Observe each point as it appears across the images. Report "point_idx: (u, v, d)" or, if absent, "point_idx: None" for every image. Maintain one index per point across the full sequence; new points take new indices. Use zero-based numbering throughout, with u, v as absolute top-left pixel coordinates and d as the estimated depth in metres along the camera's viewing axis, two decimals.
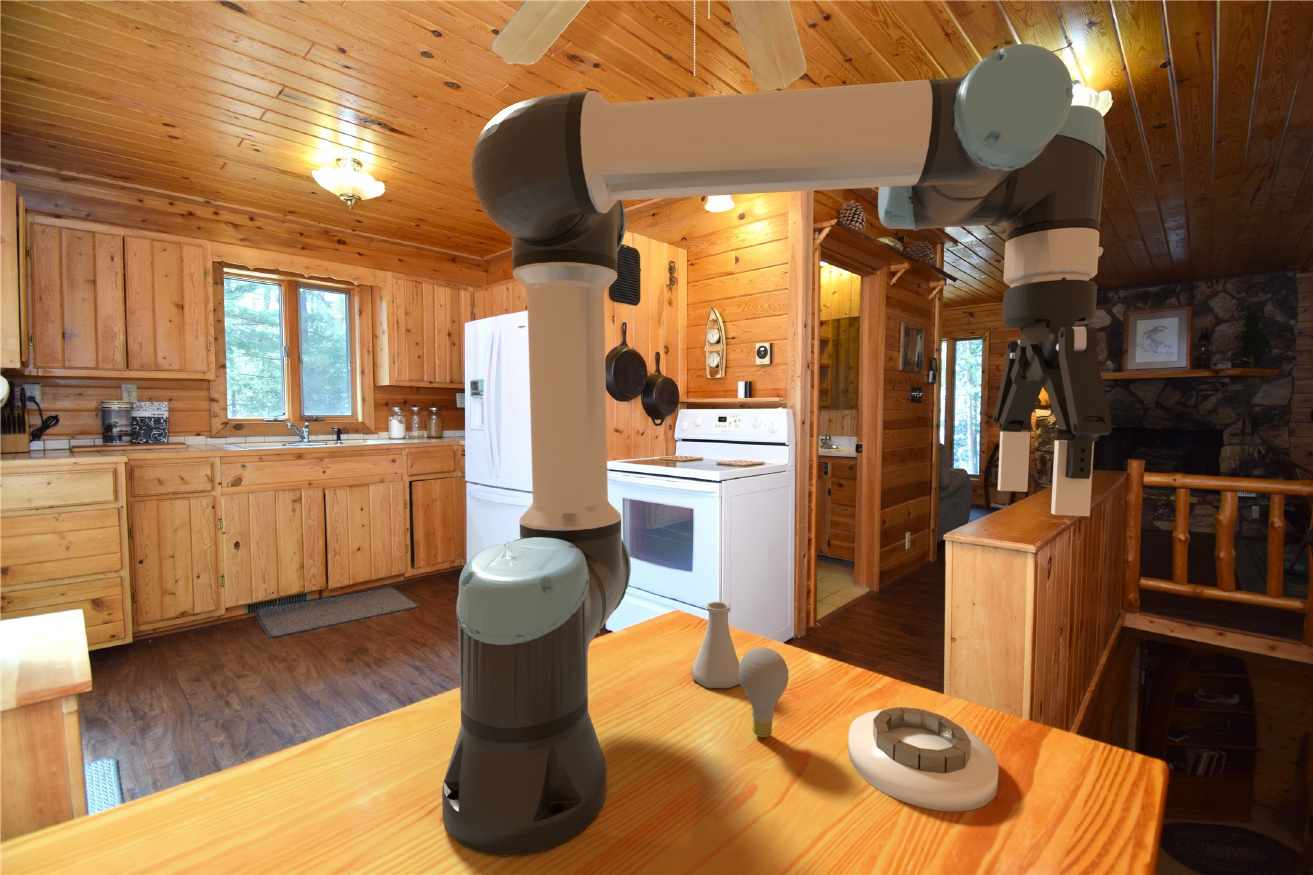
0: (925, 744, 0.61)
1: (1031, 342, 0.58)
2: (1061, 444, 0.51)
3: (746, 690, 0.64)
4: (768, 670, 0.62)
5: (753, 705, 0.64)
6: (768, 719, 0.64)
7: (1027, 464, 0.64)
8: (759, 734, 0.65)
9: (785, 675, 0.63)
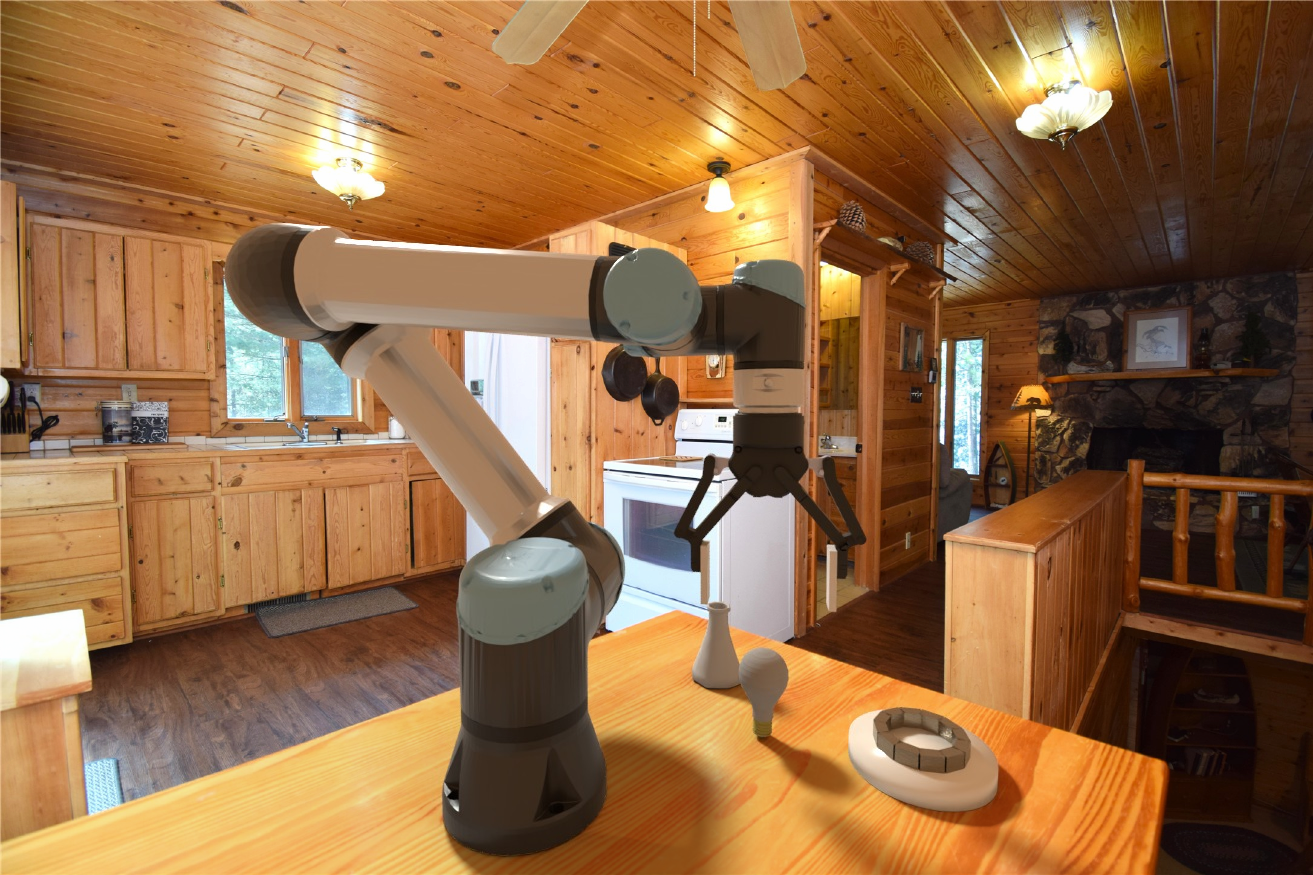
0: (925, 744, 0.61)
1: None
2: None
3: (746, 690, 0.64)
4: (768, 670, 0.62)
5: (753, 705, 0.64)
6: (768, 719, 0.64)
7: (829, 583, 0.62)
8: (759, 734, 0.65)
9: (785, 675, 0.63)
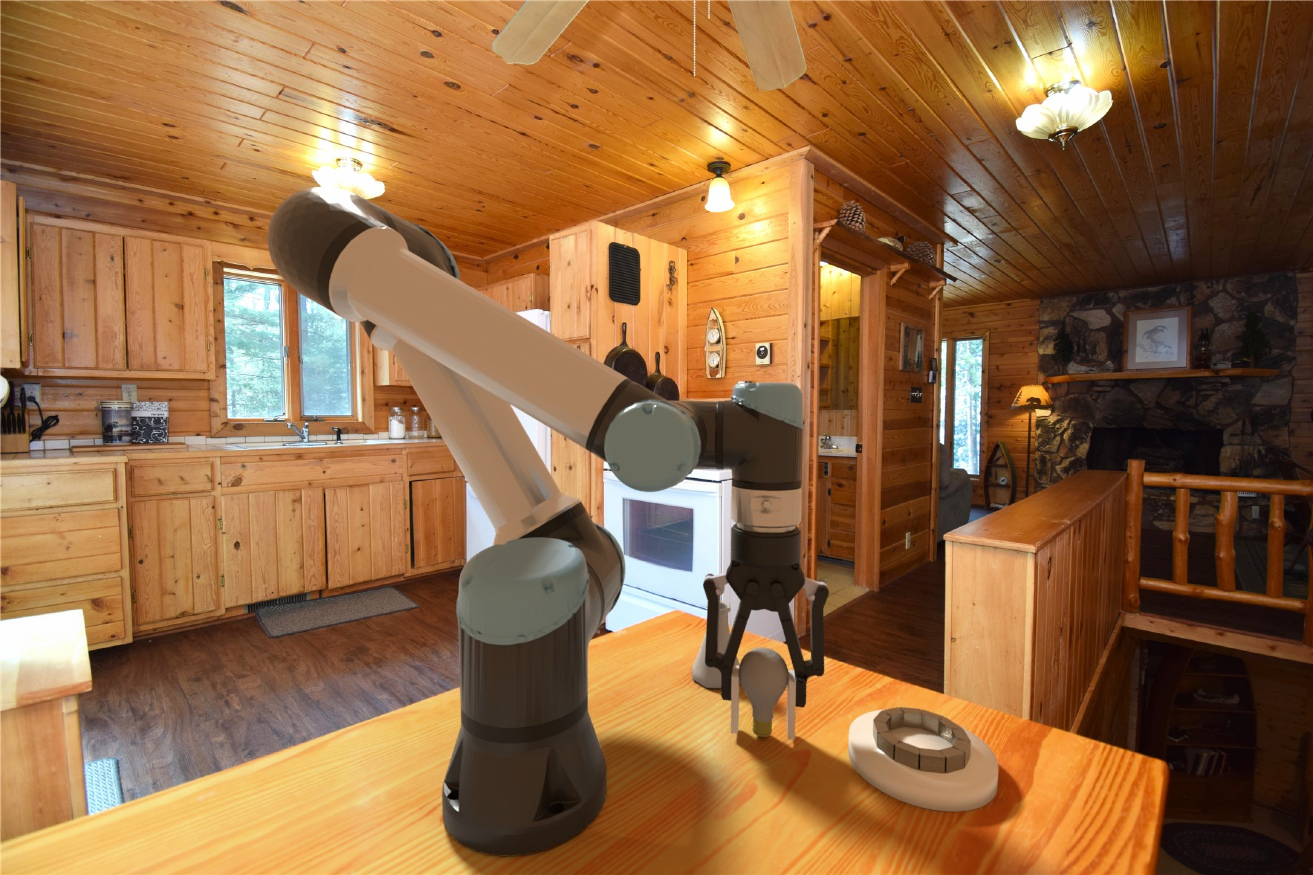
0: (925, 744, 0.61)
1: None
2: (732, 668, 0.67)
3: (746, 690, 0.64)
4: (768, 670, 0.62)
5: (753, 705, 0.64)
6: (768, 719, 0.64)
7: (788, 712, 0.63)
8: (759, 734, 0.65)
9: (785, 675, 0.63)
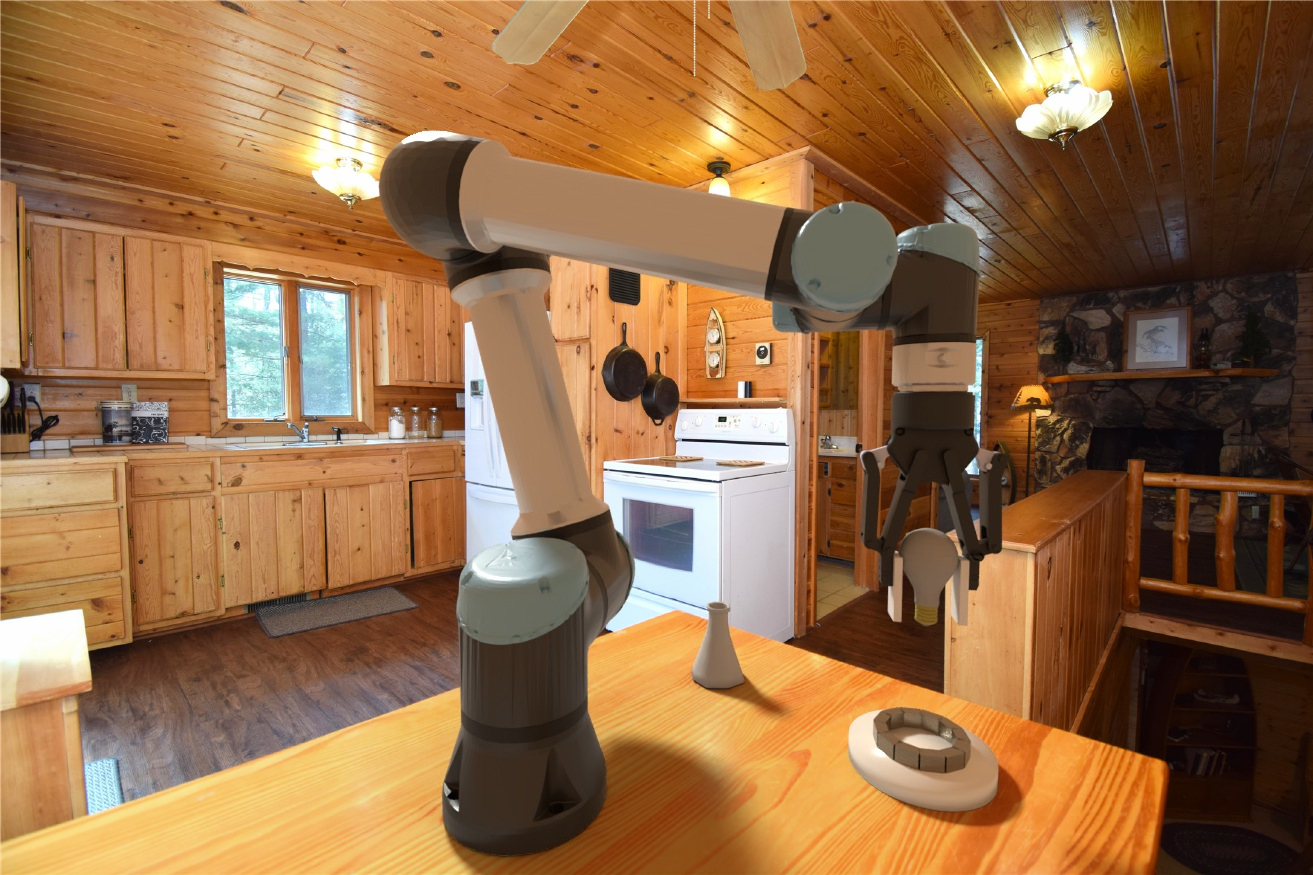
0: (925, 744, 0.61)
1: None
2: None
3: (912, 571, 0.58)
4: (940, 546, 0.57)
5: (918, 589, 0.59)
6: (935, 604, 0.58)
7: (959, 595, 0.58)
8: (925, 621, 0.59)
9: (956, 553, 0.57)
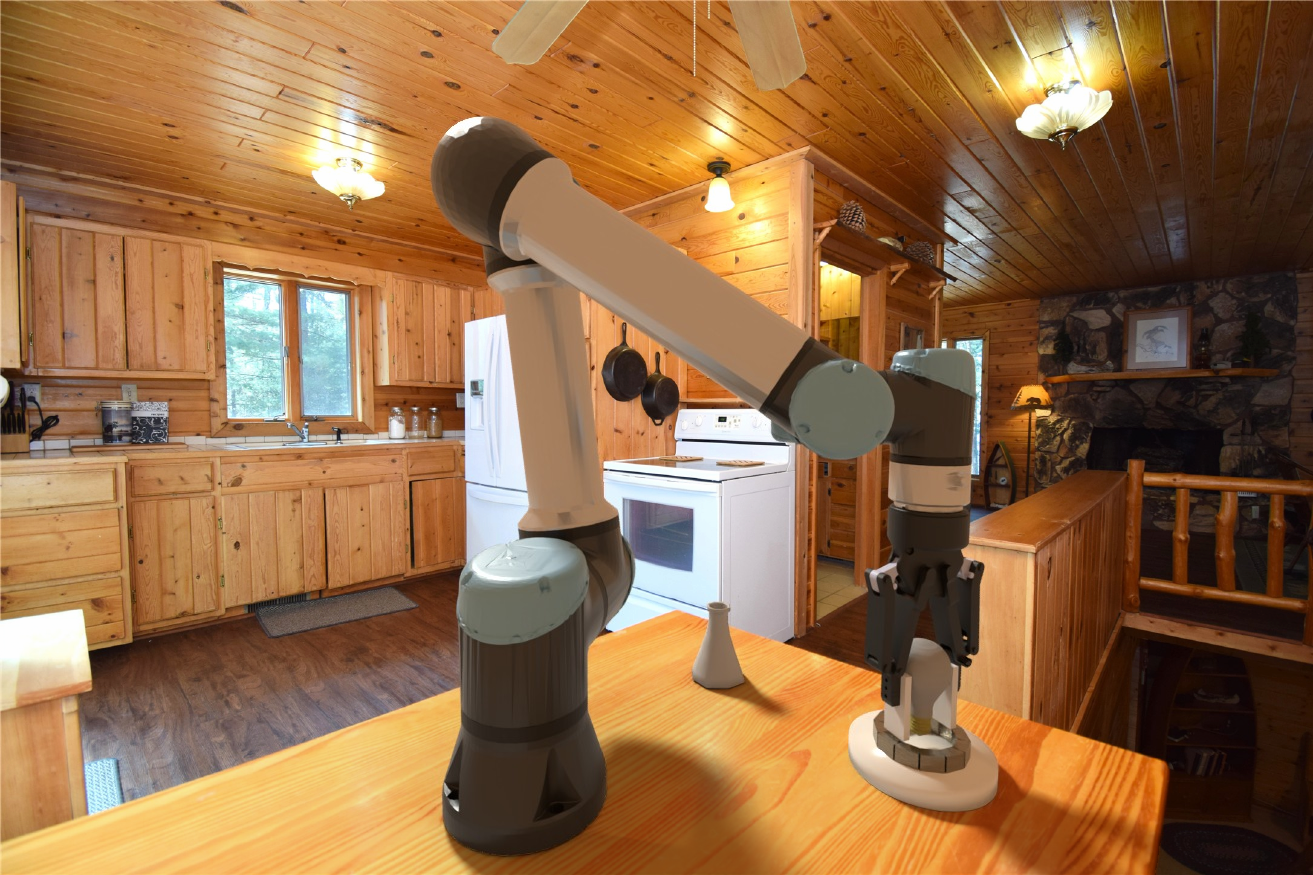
0: (925, 744, 0.61)
1: None
2: None
3: (920, 688, 0.58)
4: (944, 660, 0.58)
5: (919, 703, 0.59)
6: (932, 714, 0.60)
7: (950, 700, 0.60)
8: (924, 733, 0.59)
9: None
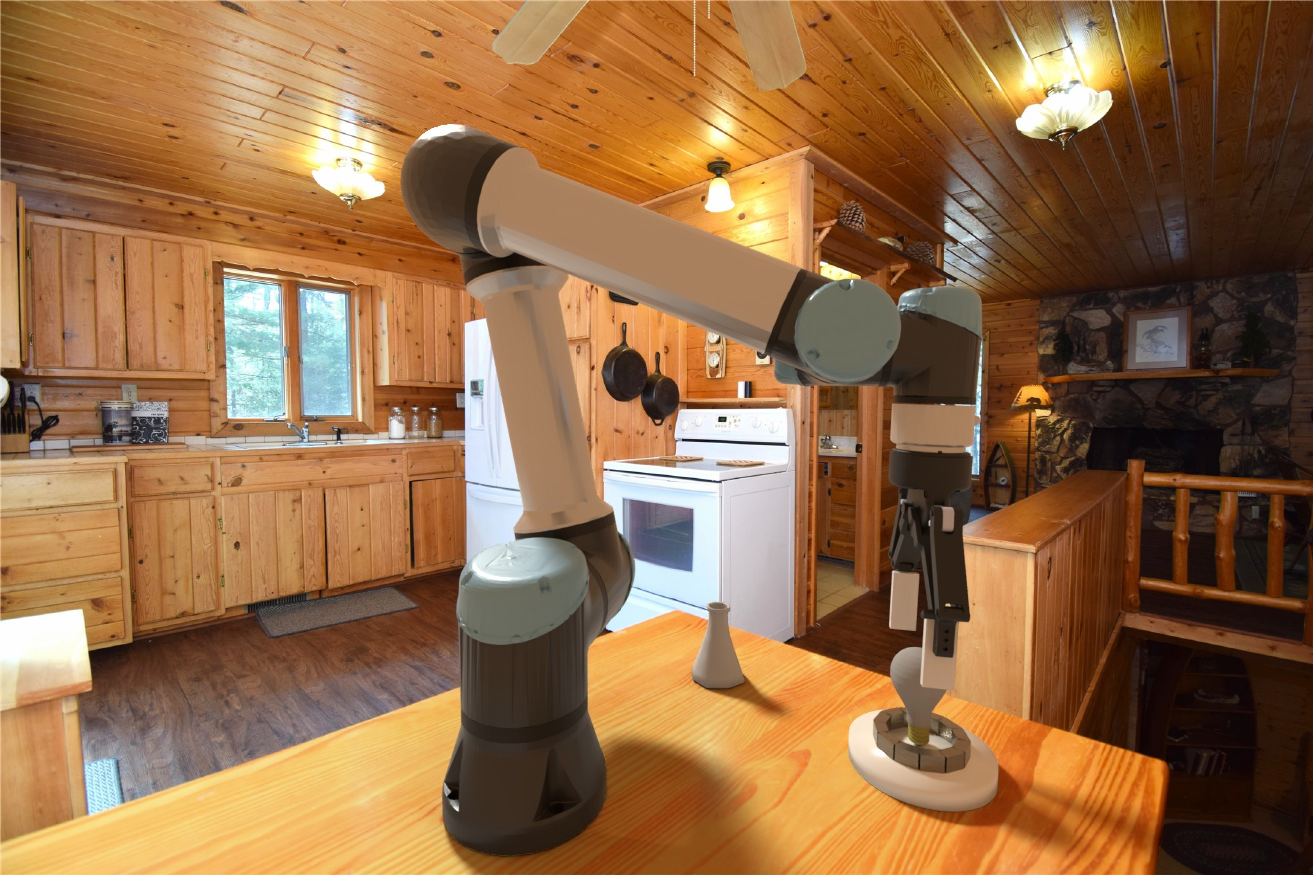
0: (925, 744, 0.61)
1: (914, 501, 0.59)
2: (929, 620, 0.53)
3: (941, 696, 0.58)
4: None
5: (930, 712, 0.59)
6: None
7: (916, 605, 0.66)
8: (928, 739, 0.60)
9: None
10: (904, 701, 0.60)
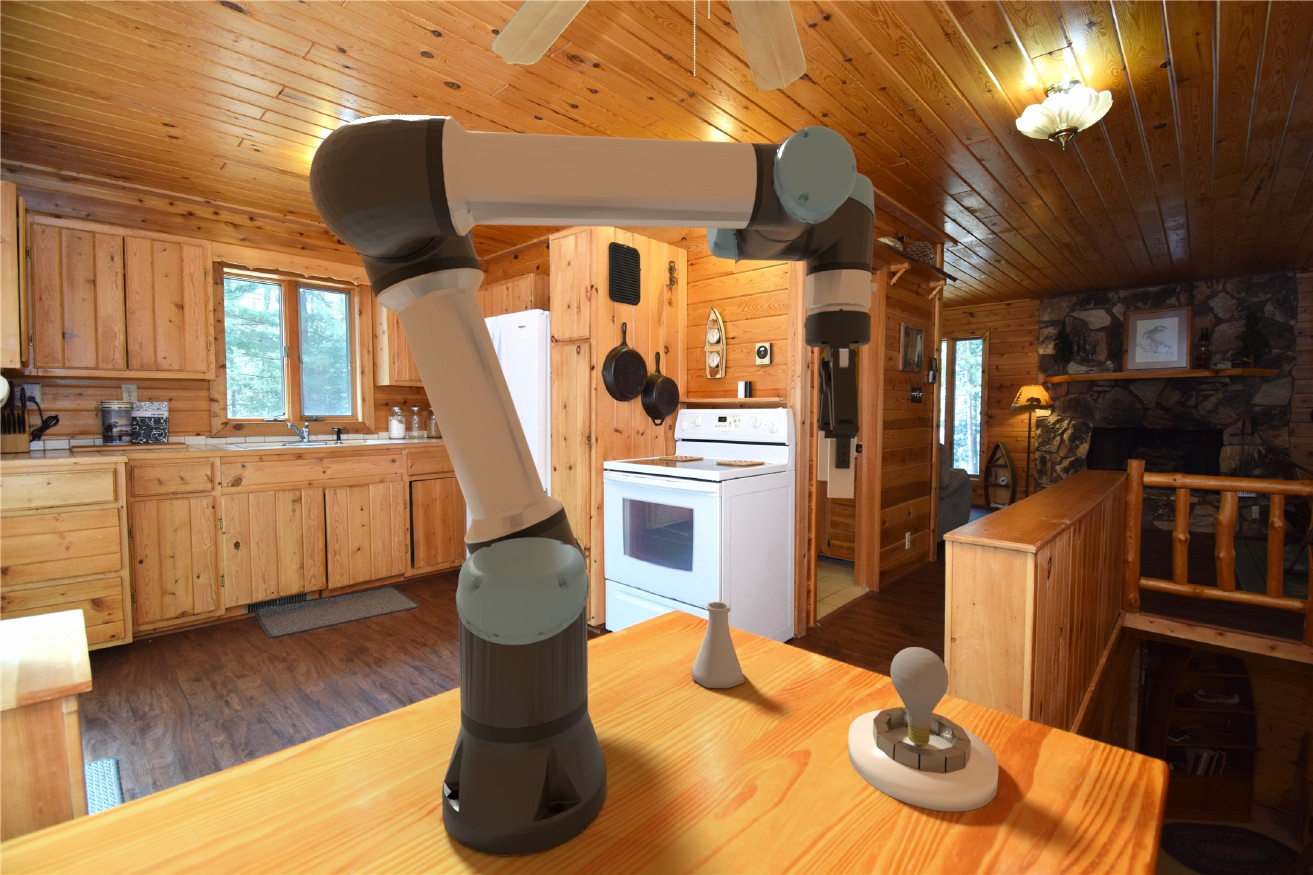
0: (925, 744, 0.61)
1: None
2: (831, 441, 0.64)
3: (941, 696, 0.58)
4: None
5: (930, 712, 0.59)
6: None
7: None
8: (928, 739, 0.60)
9: None
10: (904, 701, 0.60)
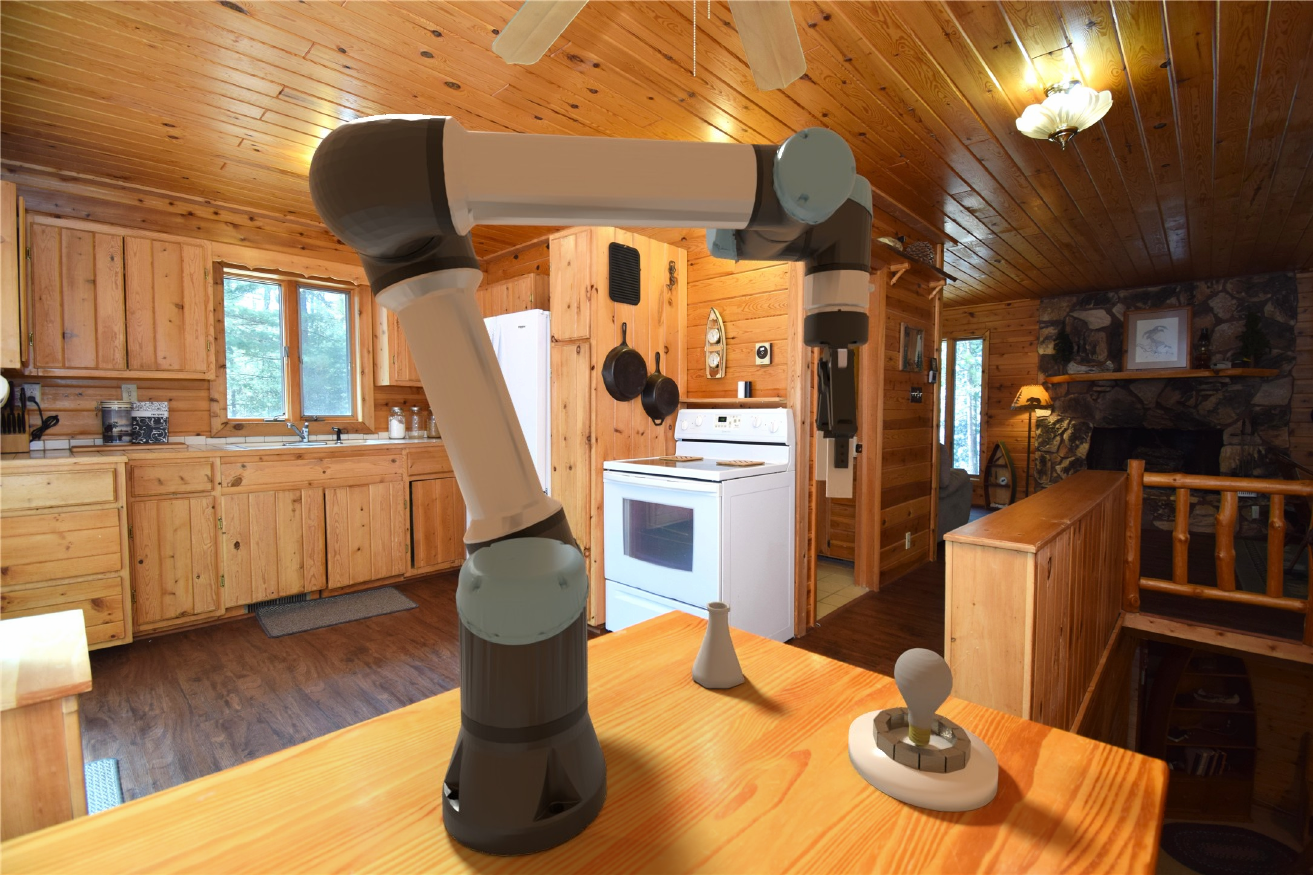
0: None
1: (825, 359, 0.71)
2: (830, 441, 0.65)
3: (944, 699, 0.58)
4: None
5: (932, 713, 0.59)
6: None
7: None
8: (929, 740, 0.60)
9: None
10: (907, 702, 0.60)
